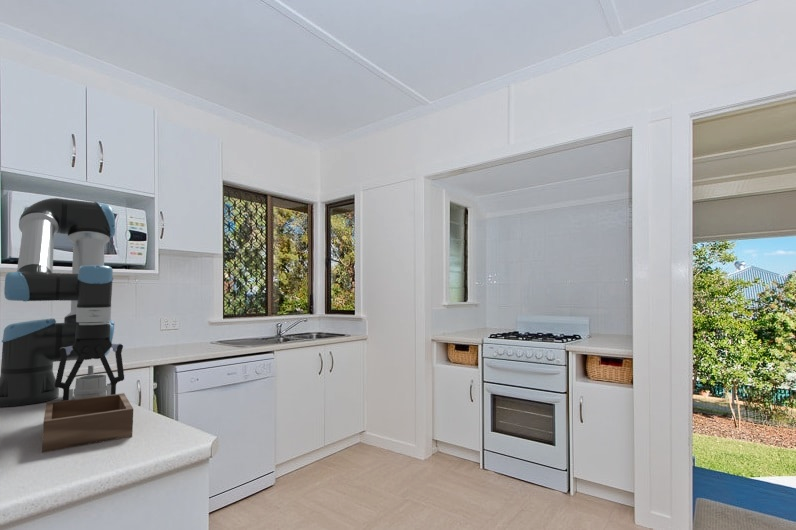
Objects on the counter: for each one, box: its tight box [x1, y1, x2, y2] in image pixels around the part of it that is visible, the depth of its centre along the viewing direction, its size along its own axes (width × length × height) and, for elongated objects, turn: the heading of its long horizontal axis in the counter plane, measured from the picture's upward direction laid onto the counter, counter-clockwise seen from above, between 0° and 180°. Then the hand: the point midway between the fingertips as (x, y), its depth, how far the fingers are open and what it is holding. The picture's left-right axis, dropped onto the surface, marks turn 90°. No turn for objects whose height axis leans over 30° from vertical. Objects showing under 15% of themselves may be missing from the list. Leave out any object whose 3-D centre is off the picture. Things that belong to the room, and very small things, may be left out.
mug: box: [73, 364, 107, 399], centre depth 112 cm, size 8×12×12 cm, turn 38°
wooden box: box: [41, 392, 134, 453], centre depth 97 cm, size 18×15×6 cm
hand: (89, 411), depth 112 cm, fingers closed on mug, 7 cm apart
